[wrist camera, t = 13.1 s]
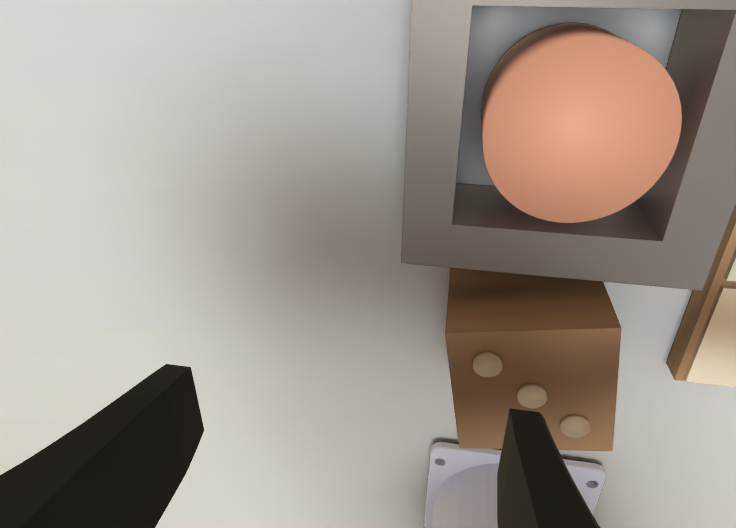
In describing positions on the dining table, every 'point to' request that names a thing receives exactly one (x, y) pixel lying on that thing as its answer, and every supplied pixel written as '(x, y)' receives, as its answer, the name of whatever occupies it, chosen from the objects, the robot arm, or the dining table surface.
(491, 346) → the die
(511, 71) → the plunger
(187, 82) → the dining table surface
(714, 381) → the track board
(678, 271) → the frame
